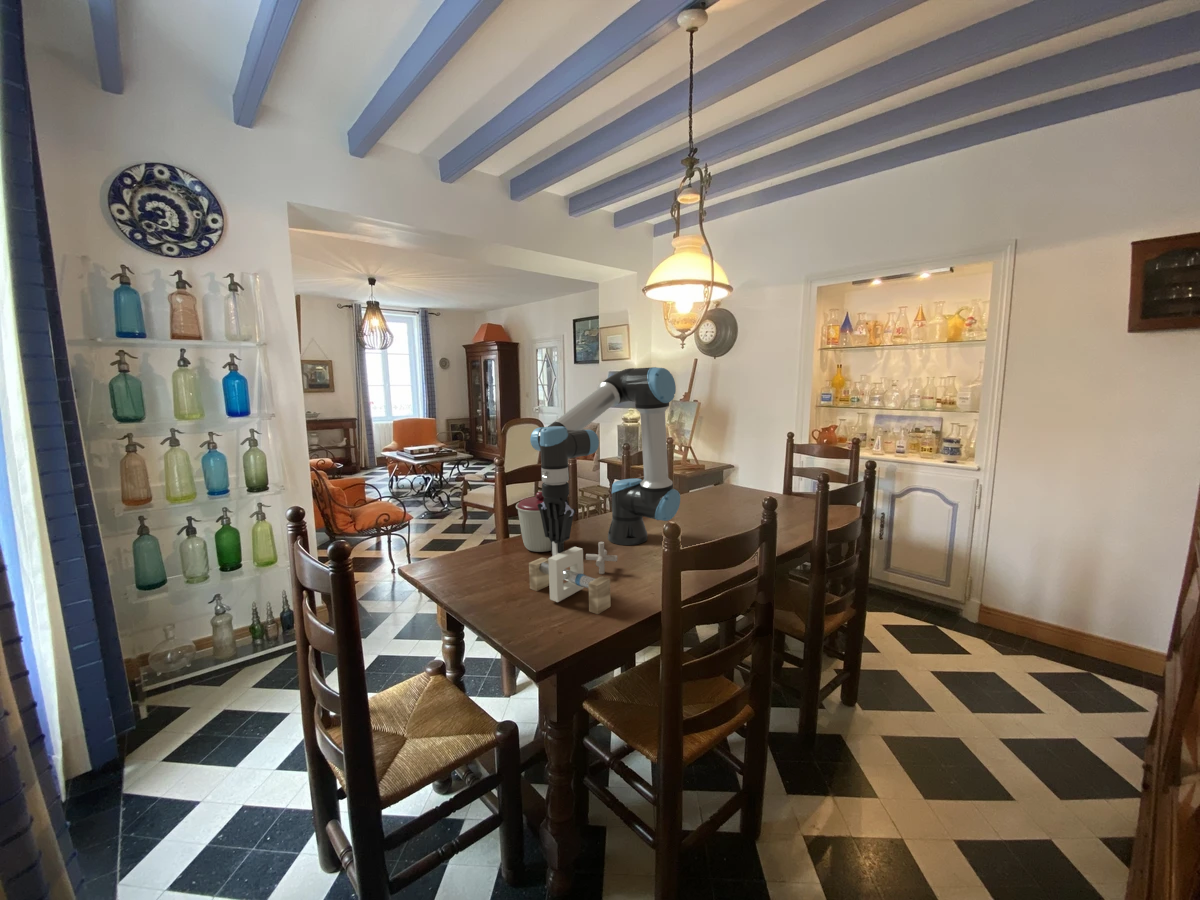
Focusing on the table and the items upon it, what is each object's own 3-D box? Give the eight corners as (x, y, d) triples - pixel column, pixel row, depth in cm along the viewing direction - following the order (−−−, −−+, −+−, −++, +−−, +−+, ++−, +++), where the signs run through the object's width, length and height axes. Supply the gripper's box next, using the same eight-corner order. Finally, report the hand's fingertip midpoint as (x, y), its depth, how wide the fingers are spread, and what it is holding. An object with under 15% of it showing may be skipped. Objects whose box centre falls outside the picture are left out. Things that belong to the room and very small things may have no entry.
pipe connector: (614, 580, 146) (614, 549, 144) (582, 578, 148) (582, 547, 146) (619, 567, 156) (619, 538, 154) (590, 565, 158) (589, 536, 156)
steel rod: (533, 572, 141) (532, 561, 141) (541, 568, 144) (540, 558, 143) (598, 595, 126) (598, 583, 125) (606, 590, 128) (606, 579, 128)
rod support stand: (529, 588, 141) (528, 563, 140) (543, 582, 145) (542, 557, 144) (597, 614, 125) (597, 585, 124) (610, 606, 129) (610, 578, 128)
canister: (532, 560, 163) (530, 500, 160) (509, 546, 177) (506, 491, 174) (576, 548, 174) (575, 492, 170) (551, 536, 188) (549, 483, 185)
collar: (549, 599, 132) (548, 558, 130) (576, 585, 141) (575, 546, 139) (557, 602, 130) (556, 560, 128) (583, 588, 139) (582, 548, 137)
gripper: (529, 481, 134) (532, 561, 137) (562, 487, 126) (565, 572, 129) (548, 477, 139) (551, 553, 143) (581, 482, 131) (583, 563, 135)
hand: (557, 562), depth 136 cm, fingers closed
